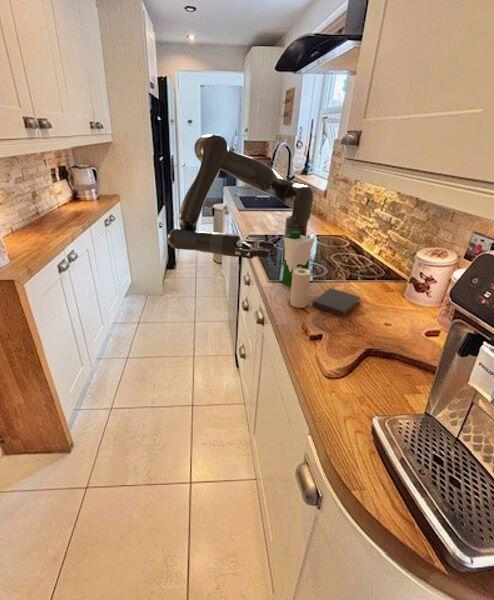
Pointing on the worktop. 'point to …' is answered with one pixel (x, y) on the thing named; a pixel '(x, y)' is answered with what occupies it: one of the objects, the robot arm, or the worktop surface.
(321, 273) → the worktop surface
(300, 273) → the paper roll
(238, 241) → the robot arm
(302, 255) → the soya milk
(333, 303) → the slate board
